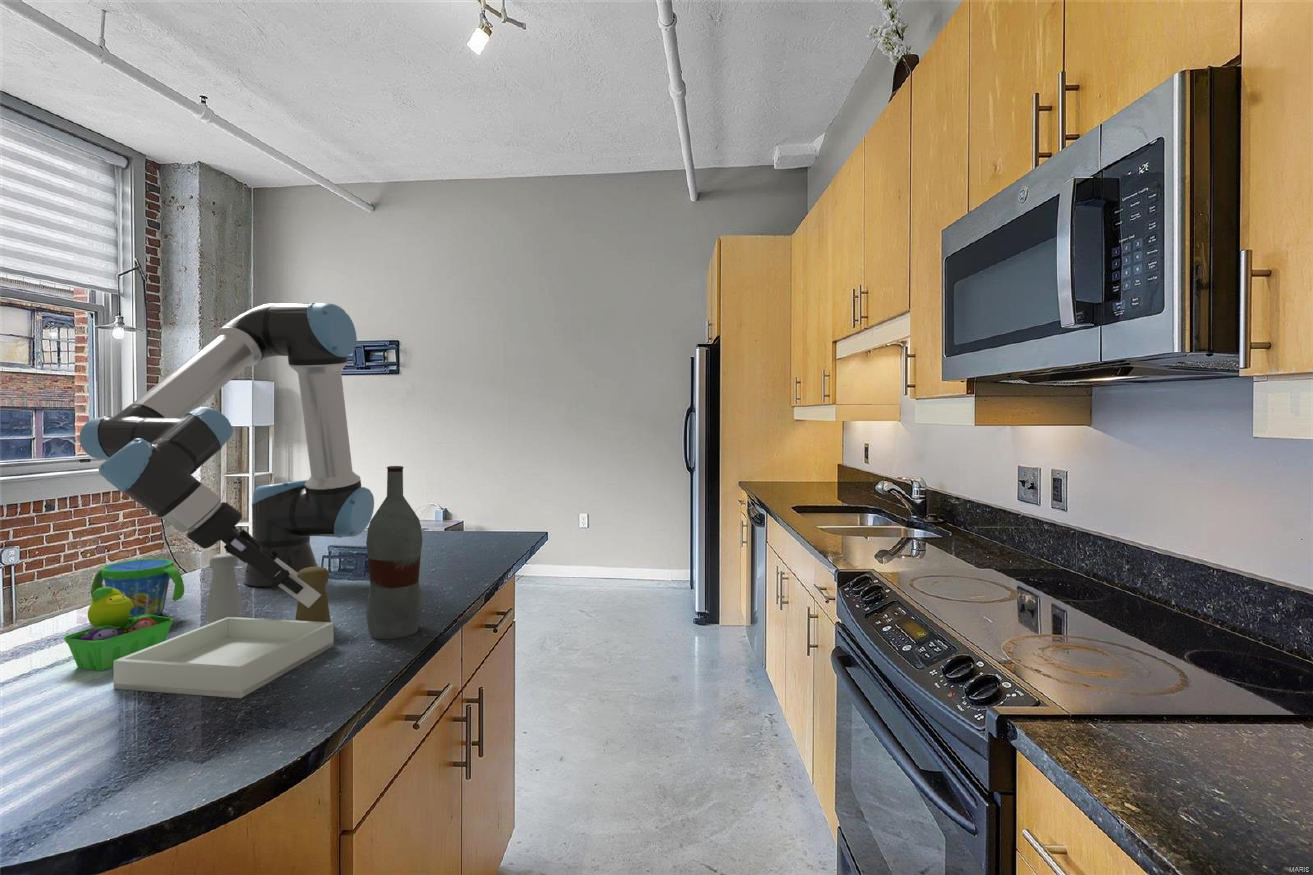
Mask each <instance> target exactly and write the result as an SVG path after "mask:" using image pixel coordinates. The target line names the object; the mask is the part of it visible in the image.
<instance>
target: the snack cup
mask: <svg viewBox="0 0 1313 875" xmlns="http://www.w3.org/2000/svg"><path fill="white" fill-rule="evenodd" d="M170 579H171V580H172V582H173V583H174V590H173V594H172V598H171V599H172V601H175V602H177V601H178V600H180V599H182V598H183V597H184V594H185V585H184V580H183V577H182V575H181V573H180V571H179V569H177V568H176V567H174V561H173V560H172V559H168V558H146V559H145V558H143V559H134V560H126V561H120V562H115V563H111V564H107V565H104V566H103V567H102V568H101V569H100V570H98V571H97V572H96V574H95V575H94V578H93V580H92V584H91V589H90V597H92V594H93V592H94V591H95V590H96V589H98V588H102V587H111V588H115V589H117V590H119V591H120V592H121V593H122V594H123V595H125V596H127V597H128V598H129V599H130V600H131V601H132V602H133V605H134V608H132V609H131V610H130V614H129V617H128V618H130V617H134V616H138V615H145V614H147V615H154V616H160V615H162V613H163V612H164V609H165V605H166V600H167V595H168V594H167V593H168V589H169V584H170ZM103 582H104V584H105V585H104V584H103Z"/></svg>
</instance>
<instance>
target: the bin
mask: <svg viewBox="0 0 1313 875" xmlns="http://www.w3.org/2000/svg"><path fill="white" fill-rule="evenodd" d="M334 626H335V625H334V622H314V621H296V620H292V619H278V618H277V619H275V618H274V619H273V618H255V617H242V616H241V617H226V618H223V619H221V620H218V621H215V622H213V623H210V624H209V623H207V624H205V625H203V626H200V627H198V628H195V629H192V630H190V631H188V632H185V633H183V634H179V635H177V636H174V637H171V638H169V639H166V641H164V642H161V643H158V644H156V645H153V646H151V647H148V648H145V649H143V650H140V651H138V652H135V653H132V654H130V655H127V656H125V657H122V658H119V659H117V660H114V661H113V667H112V668H113V689H114V688H116V689H115V690H122V691H135V692H136V691H137V692H138V691H140V692H151V693H164V694H177V695H192V696H204V697H205V696H206V697H208V696H209V697H217V698H218V697H220V698H221V697H222V698H232V699H242V698H244V697H245V696H248V695H249V694H252V692H254V691H256V690H258V689H260V688H262V687H263V686H265V685H267V684H268V683H271V682H272V681H274V680H276V679H278V678H279V677H281V676H282V675H284V674H286V673H288V672H290V671H292V670H294V669H295V668H297V667H299V666H301V665H302V664H304V663H306V662H308V661H310V660H311V659H314V658H315V657H317V656H319V655H320V654H322V653H324V652H325V651H326V652H327V650H329V649H331V648H333V647H334V644H335V643H334V641H335V640H334V639H335V638H334V631H335V630H334V628H335V627H334Z"/></svg>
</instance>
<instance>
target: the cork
mask: <svg viewBox="0 0 1313 875" xmlns="http://www.w3.org/2000/svg"><path fill="white" fill-rule="evenodd" d="M329 576H330V574H329V570H328V569H327V568H326V567H322V566H318V567H308V568H304V569H302V570H300V571H299V572H298V574H297V577H298V578H299V579H301V580H302V581H303V582H305V583H306V584H307V585H309V586H310V587H311V588H313V589H314V590H315V591H317V592H318V593H319V594H321V596H320V597H319V598H318V599H317V600H316V601H315V602H314V603H313V604H312V605H311V606H310V607H309V608H308V607H307V606H305V605H304V604H302V603H301V602H300V601H298V600H297V605H296V612H295V613H296V614H295V620H296V621H314V622H331V614H330V613H331V612H330V607H329V601H328V594H327V588H326V584H327V583H328V581H329V579H330V578H329Z"/></svg>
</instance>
